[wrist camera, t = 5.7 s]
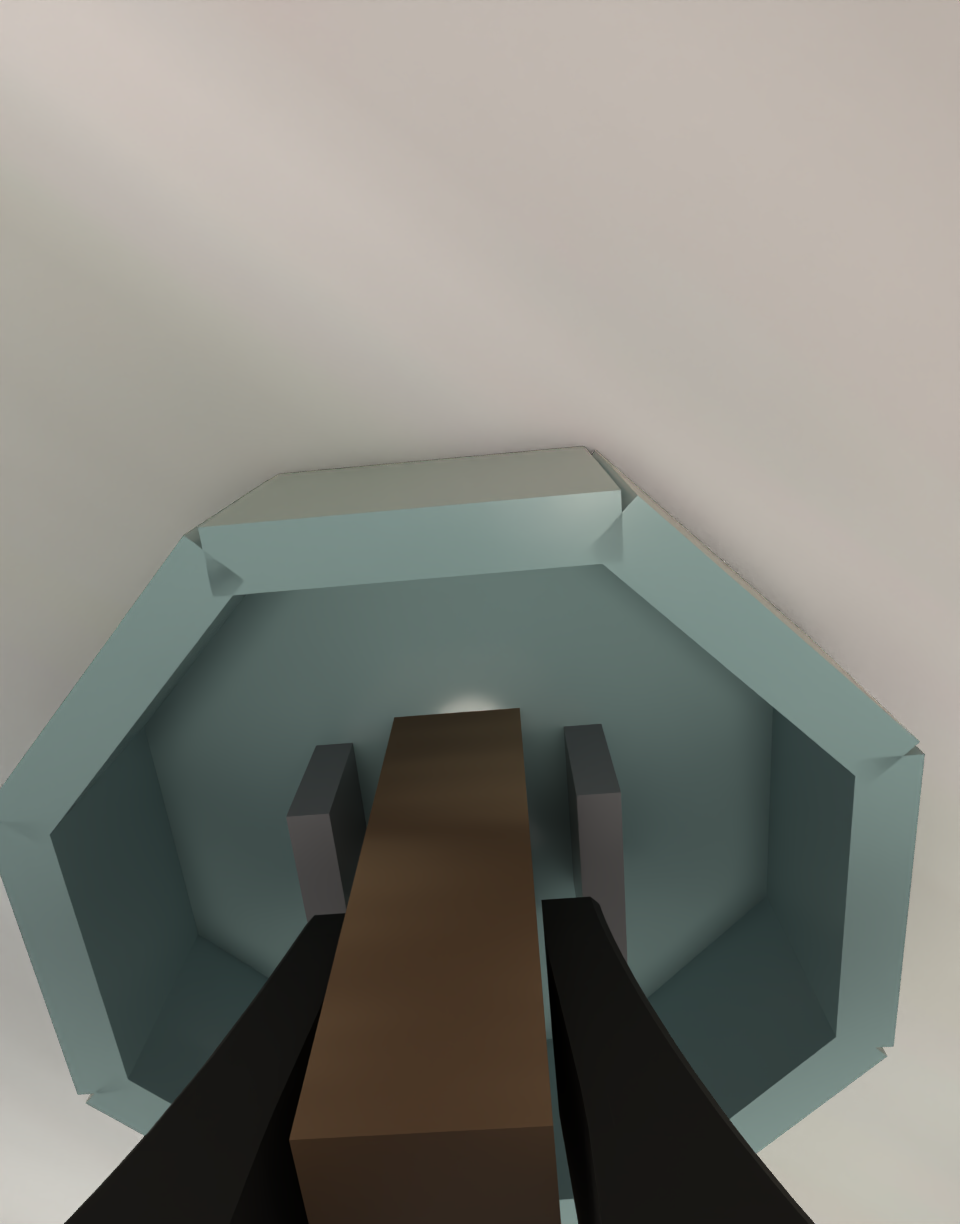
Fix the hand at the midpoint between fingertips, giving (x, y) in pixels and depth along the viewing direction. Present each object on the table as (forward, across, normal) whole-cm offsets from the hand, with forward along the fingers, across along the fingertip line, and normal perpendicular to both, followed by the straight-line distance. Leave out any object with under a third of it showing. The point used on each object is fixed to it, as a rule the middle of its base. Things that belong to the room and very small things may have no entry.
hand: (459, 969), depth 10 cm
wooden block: (+3, 0, 0) cm, 3 cm away
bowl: (+4, 0, 0) cm, 4 cm away
